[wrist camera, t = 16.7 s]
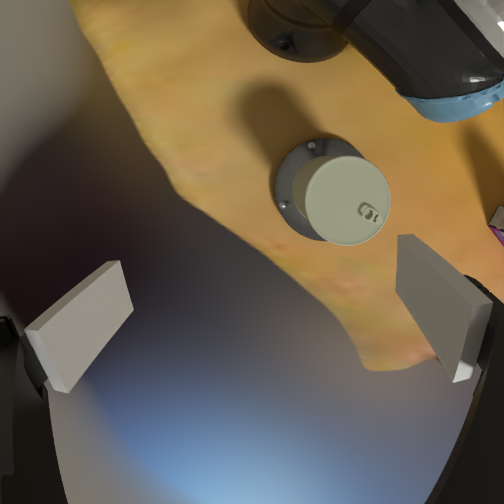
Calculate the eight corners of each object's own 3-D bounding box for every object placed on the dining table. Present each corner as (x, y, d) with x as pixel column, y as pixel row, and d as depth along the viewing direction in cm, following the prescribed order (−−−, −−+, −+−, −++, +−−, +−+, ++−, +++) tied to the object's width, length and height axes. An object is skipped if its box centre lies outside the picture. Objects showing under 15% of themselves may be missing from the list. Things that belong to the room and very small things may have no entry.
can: (337, 235, 43) (364, 263, 31) (279, 204, 42) (287, 220, 30) (369, 178, 40) (408, 186, 29) (312, 143, 39) (333, 136, 28)
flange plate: (259, 157, 41) (259, 157, 40) (355, 127, 39) (357, 126, 38) (293, 252, 45) (294, 255, 43) (383, 220, 43) (386, 222, 42)
